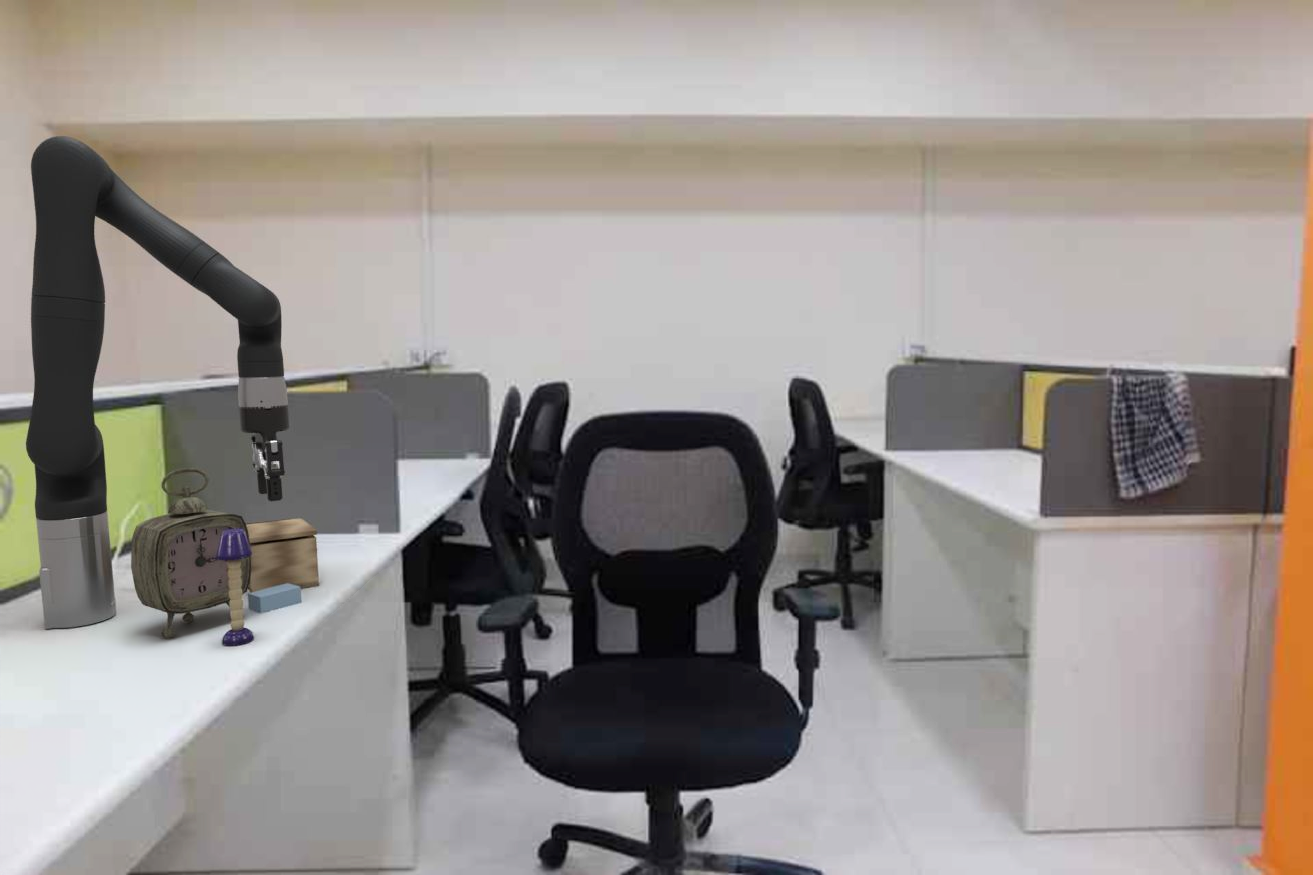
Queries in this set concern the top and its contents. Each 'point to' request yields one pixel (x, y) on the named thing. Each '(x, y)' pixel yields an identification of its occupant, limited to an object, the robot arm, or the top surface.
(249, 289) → the robot arm
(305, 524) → the lid
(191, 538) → the tabletop clock
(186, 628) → the top surface
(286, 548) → the crate
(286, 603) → the light blue block
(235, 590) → the toy lamp
